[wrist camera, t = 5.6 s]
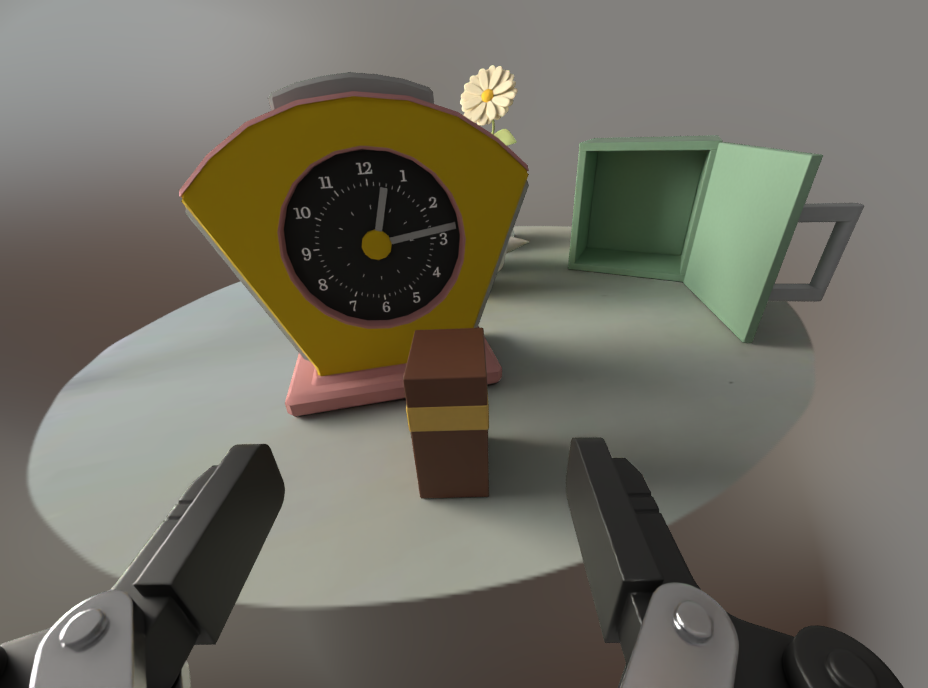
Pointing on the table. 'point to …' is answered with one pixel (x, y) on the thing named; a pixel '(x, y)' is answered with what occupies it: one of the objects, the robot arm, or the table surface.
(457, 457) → the chocolate box
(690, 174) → the cupboard
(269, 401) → the table surface
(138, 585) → the robot arm
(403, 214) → the yellow alarm clock
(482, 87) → the flower in vase
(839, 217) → the cupboard door
